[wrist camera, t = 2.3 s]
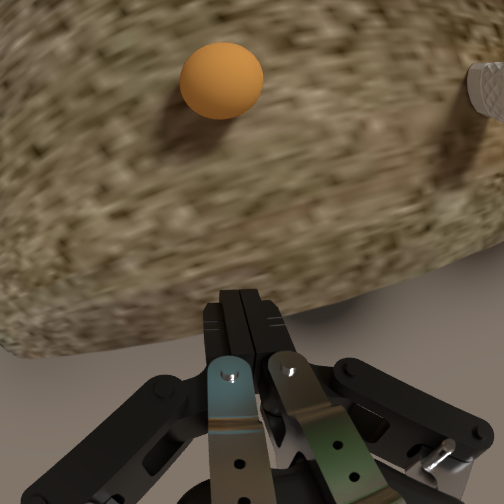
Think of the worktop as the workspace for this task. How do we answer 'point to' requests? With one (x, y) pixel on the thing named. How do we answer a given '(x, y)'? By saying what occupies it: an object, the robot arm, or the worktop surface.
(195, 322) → the worktop surface
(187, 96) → the ball
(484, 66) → the white cup
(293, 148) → the worktop surface
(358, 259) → the worktop surface
